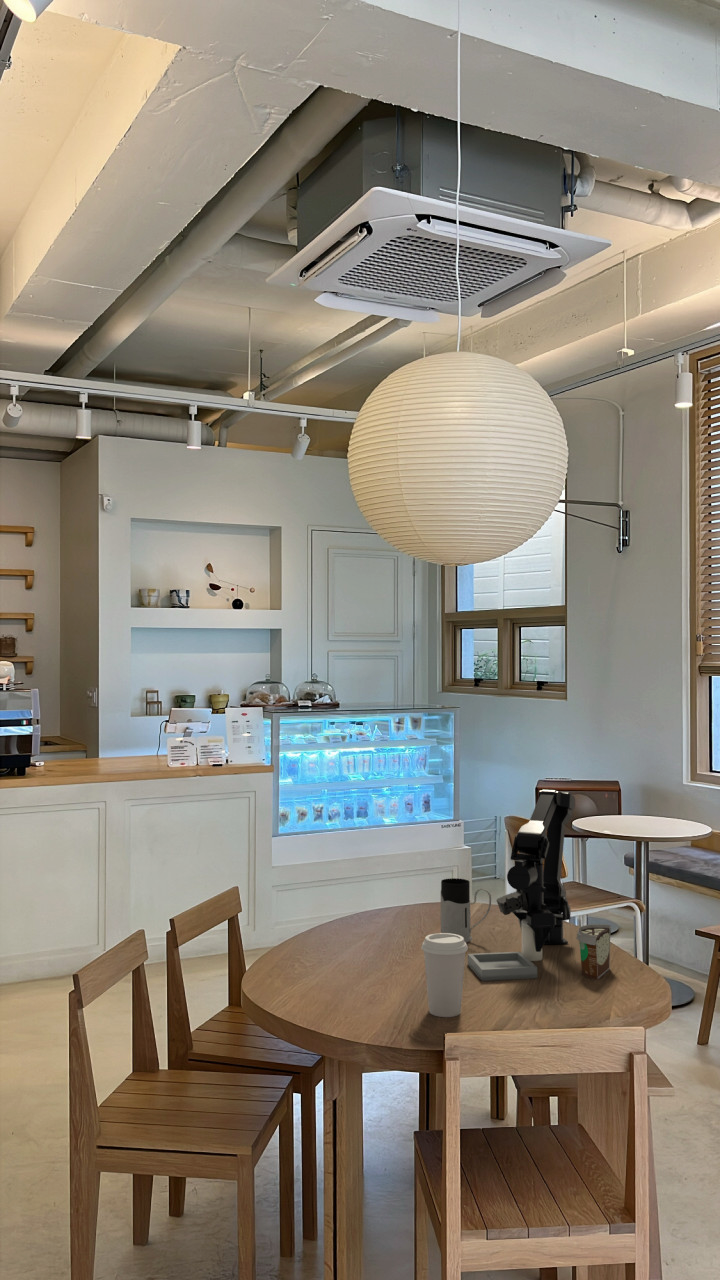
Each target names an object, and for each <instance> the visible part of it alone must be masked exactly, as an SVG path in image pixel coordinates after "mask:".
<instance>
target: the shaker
mask: <svg viewBox="0 0 720 1280" xmlns="http://www.w3.org/2000/svg"><path fill="white" fill-rule="evenodd" d="M527 923H528V922H527V919H523V920H522V931H521V953H522V954H523V955H524V956H525V957H526V958H528V959H529V960H530V961H531V962H538V961H542V960H543V948H542V949H541V951H540V952H536V950H535V944H534V937H533V931H532V929H531V928H530V927H529V926H528V925H527Z"/></svg>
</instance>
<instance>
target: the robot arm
mask: <svg viewBox="0 0 720 1280" xmlns="http://www.w3.org/2000/svg"><path fill="white" fill-rule="evenodd" d="M575 807H576V798H575V796H574V795H572V793H571V792H570V791H558V790H557V789H542V790H541V789H540V790H539V792H538V799H537V801H536V804H535V806H534V809H533V810H532V811H533V812H532V814H531V816H530V819H529V821H528V822H527V823H525V824H523V825H521V827H520V828H519V830H518V831H517V834H516V835H515V837H514V839H513V844H512V848H511V849H512V850H511V854H510V860H511V861H514V865H513V866H512V867H510V869H509V870H508V871H507V874H506V880H507V882H508V884H509V886H510V887H511V888H512V889H515V891H513V892H510V893H508V894H505V895H503V896H500V897H498V898H497V899H496V904H497V906H498V909H499V911H500V913H502V915H504V916H508V915H511V913H512V914H513V915H514V916H515V917H516V918H517V920H518V923H519V926H520V931H521V932H522V920H523V919H527V922H528V923H527V925H528V926H529V927H530V928H531V929H532V931H533V937H534V944H535V950H536V952H540V951H541V949H542V950H543V946H544V945H558V944H559V945H562V944H563V945H564V944H569V941H568V940H567V939H565V938H564V922H566V921H568V920H569V921H571V917H572V916H571V915H572V912H571V907H570V904H569V901H568V898H567V895H566V894H567V893H566V889H565V888H564V885H563V884H562V883H563V882H562V881H561V878H562V866H563V857H564V856H563V855H564V846H565V845H564V843H565V833H566V832H565V830H566V826H567V824H568V823H569V821H570V820H571V819H572V817H573V812H574V810H575Z"/></svg>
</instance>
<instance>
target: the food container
mask: <svg viewBox="0 0 720 1280" xmlns="http://www.w3.org/2000/svg"><path fill="white" fill-rule="evenodd" d="M611 929H612V927H611V925H610V924H601V923H600V924H598V923H596V924H593V923H592V924H585V925H582V926H580V927H579V928H578V930H577V932H576V933H577V934H576V939H577V941H579V952H580V954H579V955H580V965H581V967H580V968H581V973H582V975H583V976H585V977H587V978H590V979H594V980H598V979H600V978H601V977H602V976H603V975H605V974H606V972H608V971H610V967H611V965H610V964H611V963H610V962H611V934H612V930H611Z"/></svg>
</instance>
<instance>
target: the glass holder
mask: <svg viewBox="0 0 720 1280" xmlns="http://www.w3.org/2000/svg"><path fill="white" fill-rule="evenodd" d="M440 884H441V885H440V933H451V934H457V935H460V936H462V937H463V938H464V941H465V943H469V942H471V941H473V937H472V930H473V929H474V928H475V927H476V926H478V925H479V924H480V923H481V922H482V921H484V920H485V919H486V917H487V916H488V914H489V912H490V910H491V906H492V897H491V896H492V895H491V893H490V891H489V890H488V889H486V888H478V889H477V890H476V891H475V893H474V901H473V902H471V900H470V899H471V897H470V894H471V893H470V892H471V891H470V889H471V885H470V884H471V883H470V880H468V879H464V878H445V879H441V882H440ZM479 891H485V892H486V894H488V898H489V901H488V902H489V903H488V908H487V910H486V913H485V914H484V916H483V917H482V918H481V919H480V920H479V921H478V922H476V923H475V924H473V925H472V926H471V905H475V903H476V901H477V896H478V893H479Z"/></svg>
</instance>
